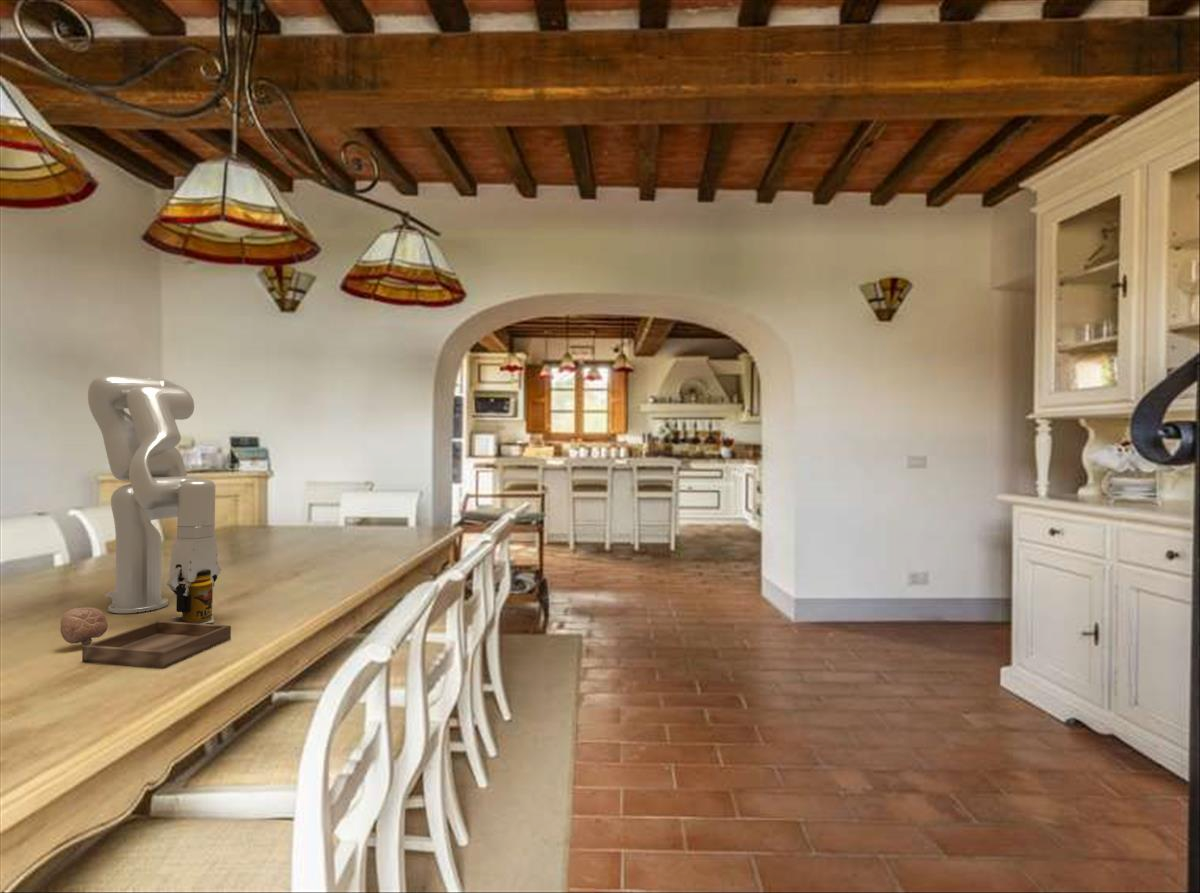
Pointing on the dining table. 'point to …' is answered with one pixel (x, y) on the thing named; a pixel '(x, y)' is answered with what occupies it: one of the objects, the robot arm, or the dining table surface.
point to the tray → (156, 644)
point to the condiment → (199, 601)
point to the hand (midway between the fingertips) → (194, 607)
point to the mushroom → (83, 625)
